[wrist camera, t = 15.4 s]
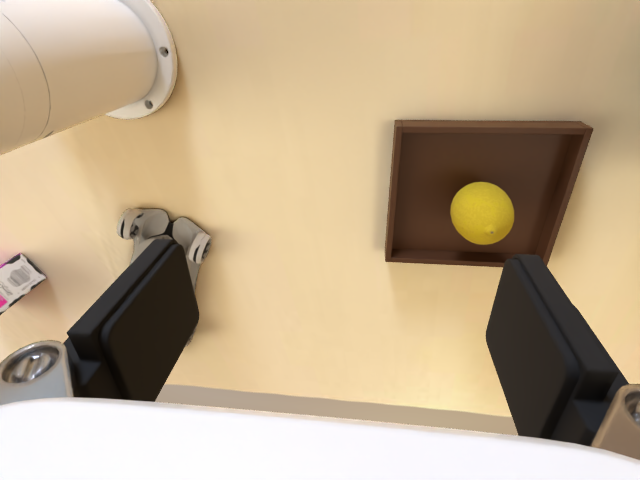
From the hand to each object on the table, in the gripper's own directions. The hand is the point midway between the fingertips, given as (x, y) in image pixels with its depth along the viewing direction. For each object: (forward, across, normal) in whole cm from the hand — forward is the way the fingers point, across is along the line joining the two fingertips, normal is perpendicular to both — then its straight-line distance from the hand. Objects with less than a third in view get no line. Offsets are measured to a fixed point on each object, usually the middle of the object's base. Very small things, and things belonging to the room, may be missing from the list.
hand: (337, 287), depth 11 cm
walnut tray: (+30, -12, +10) cm, 34 cm away
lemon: (+30, -12, +10) cm, 34 cm away
